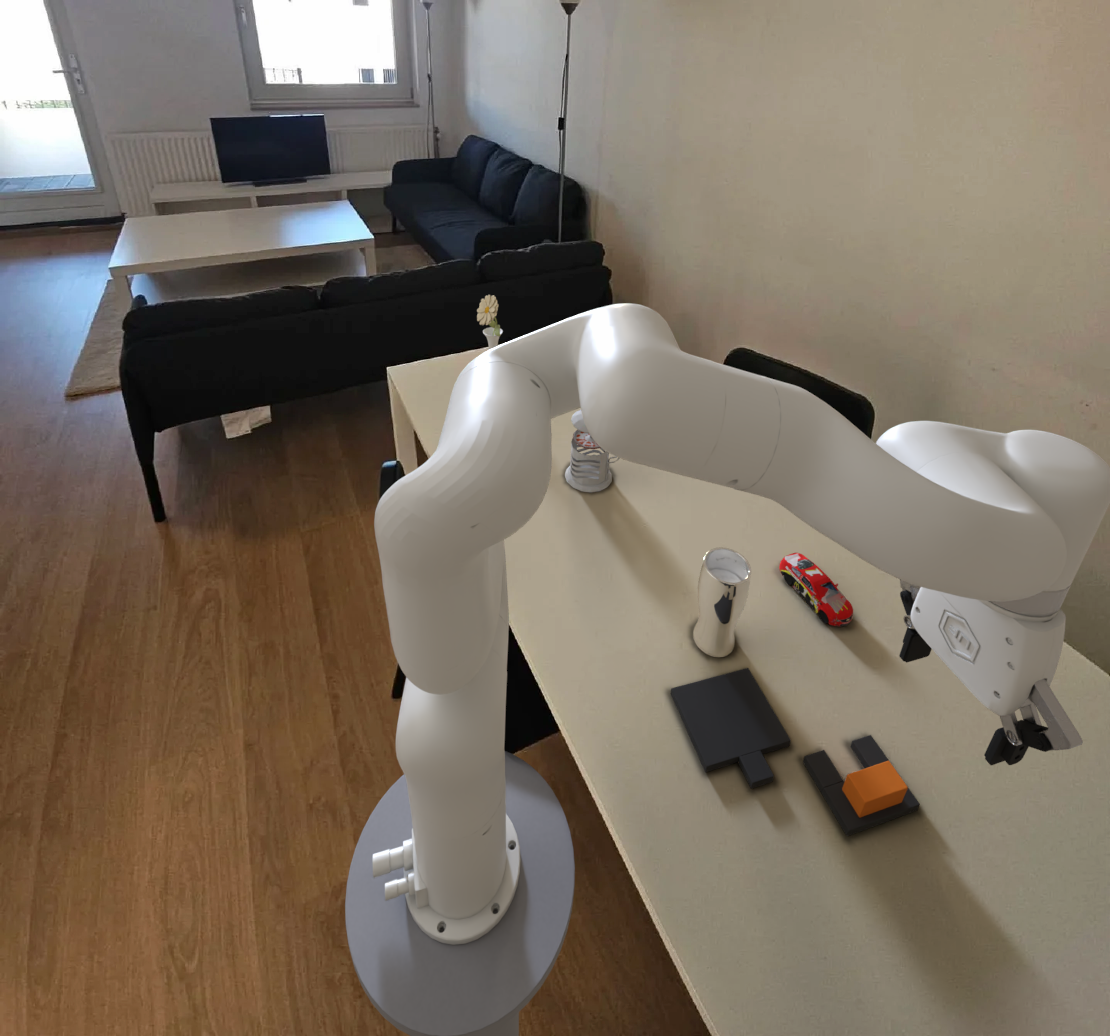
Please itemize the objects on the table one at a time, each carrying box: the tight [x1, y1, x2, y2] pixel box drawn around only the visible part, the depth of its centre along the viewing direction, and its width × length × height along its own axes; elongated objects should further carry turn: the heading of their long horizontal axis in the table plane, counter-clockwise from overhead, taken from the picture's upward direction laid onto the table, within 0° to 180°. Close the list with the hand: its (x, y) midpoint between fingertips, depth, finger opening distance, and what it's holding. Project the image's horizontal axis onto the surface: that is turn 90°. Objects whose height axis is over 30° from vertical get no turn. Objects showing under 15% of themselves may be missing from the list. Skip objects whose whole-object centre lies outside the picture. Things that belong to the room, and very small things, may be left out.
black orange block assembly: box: [802, 734, 921, 837], centre depth 73 cm, size 10×8×4 cm
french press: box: [564, 409, 621, 493], centre depth 119 cm, size 10×12×25 cm
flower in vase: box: [476, 294, 504, 350], centre depth 153 cm, size 13×11×25 cm
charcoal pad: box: [670, 667, 792, 789], centre depth 79 cm, size 12×13×1 cm
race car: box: [778, 552, 854, 627], centre depth 98 cm, size 13×5×4 cm, turn 22°
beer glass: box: [692, 546, 752, 658], centre depth 88 cm, size 7×7×15 cm
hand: (953, 703), depth 57 cm, fingers open, 9 cm apart
